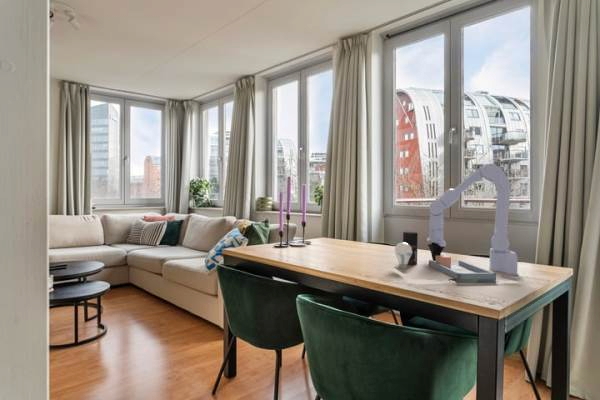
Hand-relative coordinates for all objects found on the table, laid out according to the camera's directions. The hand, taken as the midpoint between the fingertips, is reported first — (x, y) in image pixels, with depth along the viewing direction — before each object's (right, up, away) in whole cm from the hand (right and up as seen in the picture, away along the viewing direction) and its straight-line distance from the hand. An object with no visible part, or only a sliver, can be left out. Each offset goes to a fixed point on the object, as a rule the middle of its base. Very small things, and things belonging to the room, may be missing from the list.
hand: (435, 261), depth 162 cm
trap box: (+4, -3, -15) cm, 16 cm away
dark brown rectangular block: (-11, -3, 0) cm, 11 cm away
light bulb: (-16, -3, -9) cm, 19 cm away
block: (0, -1, -7) cm, 7 cm away
